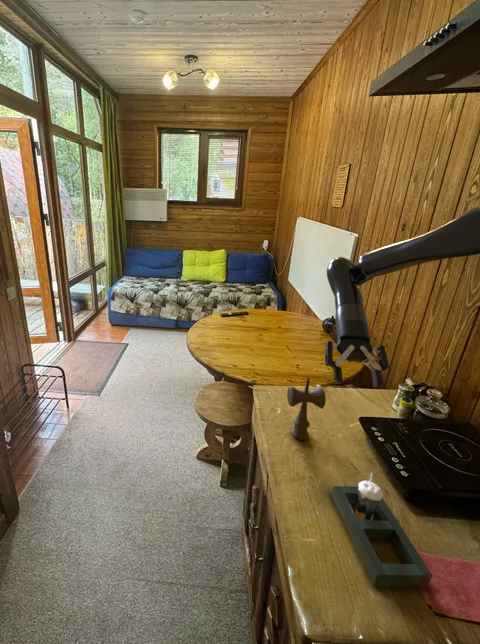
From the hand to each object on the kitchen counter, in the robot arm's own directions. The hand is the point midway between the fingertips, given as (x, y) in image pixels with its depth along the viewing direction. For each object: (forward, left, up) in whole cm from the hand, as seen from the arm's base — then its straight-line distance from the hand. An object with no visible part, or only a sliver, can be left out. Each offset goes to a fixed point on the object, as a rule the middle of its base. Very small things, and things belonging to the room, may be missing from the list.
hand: (358, 385), depth 75 cm
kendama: (+8, -11, -25) cm, 28 cm away
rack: (+2, +18, -24) cm, 31 cm away
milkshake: (+2, +14, -25) cm, 29 cm away
